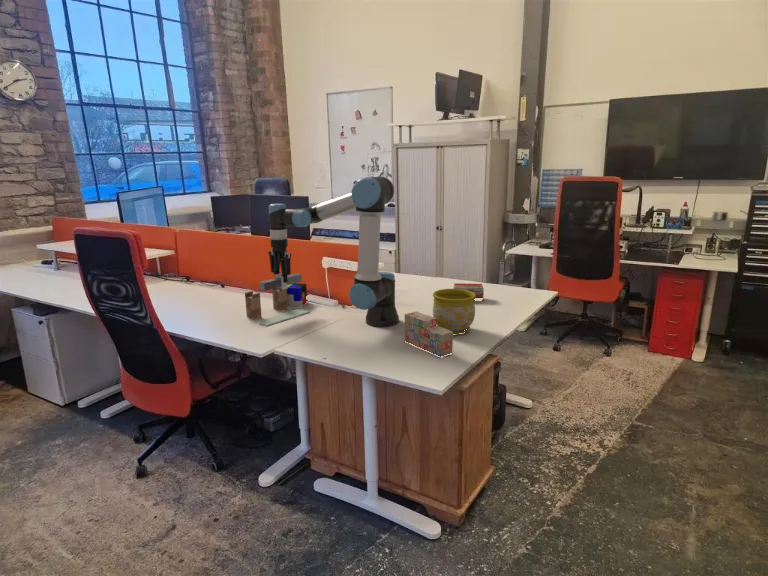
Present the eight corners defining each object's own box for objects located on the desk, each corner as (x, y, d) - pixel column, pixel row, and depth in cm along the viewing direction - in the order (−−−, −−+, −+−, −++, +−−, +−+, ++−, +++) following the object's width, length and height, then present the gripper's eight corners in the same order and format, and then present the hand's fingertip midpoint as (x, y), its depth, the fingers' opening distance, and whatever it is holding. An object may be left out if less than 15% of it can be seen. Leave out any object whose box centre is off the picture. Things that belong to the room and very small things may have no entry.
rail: (296, 280, 238) (296, 273, 237) (301, 281, 236) (301, 274, 235) (259, 289, 221) (259, 282, 221) (264, 290, 219) (264, 283, 218)
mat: (310, 312, 240) (310, 311, 240) (267, 326, 220) (267, 324, 220) (299, 309, 245) (299, 308, 244) (255, 322, 225) (255, 321, 225)
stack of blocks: (452, 355, 186) (453, 323, 183) (440, 359, 182) (441, 327, 179) (416, 339, 202) (416, 310, 199) (404, 342, 199) (404, 313, 196)
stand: (287, 309, 245) (286, 286, 242) (254, 319, 230) (252, 294, 227) (279, 307, 249) (278, 284, 246) (246, 316, 234) (244, 292, 231)
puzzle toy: (300, 307, 248) (299, 288, 246) (281, 306, 250) (280, 287, 248) (307, 302, 258) (306, 283, 255) (289, 301, 260) (288, 283, 257)
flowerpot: (465, 340, 200) (467, 301, 196) (425, 333, 209) (425, 296, 205) (480, 327, 215) (481, 291, 211) (442, 321, 224) (442, 286, 220)
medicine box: (453, 301, 256) (454, 286, 254) (453, 297, 264) (453, 283, 262) (483, 302, 254) (483, 287, 253) (481, 298, 262) (482, 283, 260)
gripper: (297, 239, 221) (299, 289, 227) (273, 235, 231) (276, 284, 237) (284, 241, 215) (287, 293, 221) (260, 237, 225) (263, 287, 231)
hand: (281, 288), depth 229 cm, fingers closed on rail, 3 cm apart
